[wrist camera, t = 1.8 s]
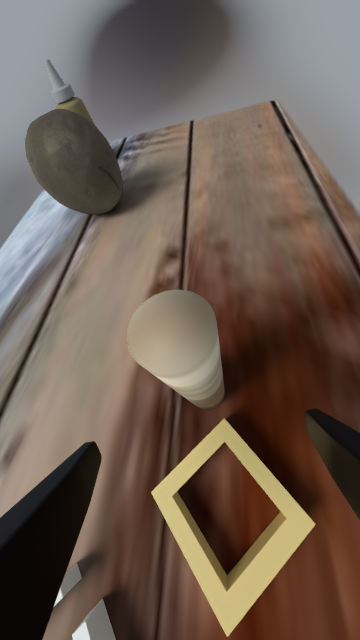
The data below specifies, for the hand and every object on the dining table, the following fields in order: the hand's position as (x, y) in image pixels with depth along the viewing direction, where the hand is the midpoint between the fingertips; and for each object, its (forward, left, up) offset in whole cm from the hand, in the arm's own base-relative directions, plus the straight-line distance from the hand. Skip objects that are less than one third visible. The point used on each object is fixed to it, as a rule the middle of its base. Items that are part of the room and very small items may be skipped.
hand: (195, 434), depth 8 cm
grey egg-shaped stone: (+44, -11, -11) cm, 47 cm away
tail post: (+3, -2, -11) cm, 12 cm away
